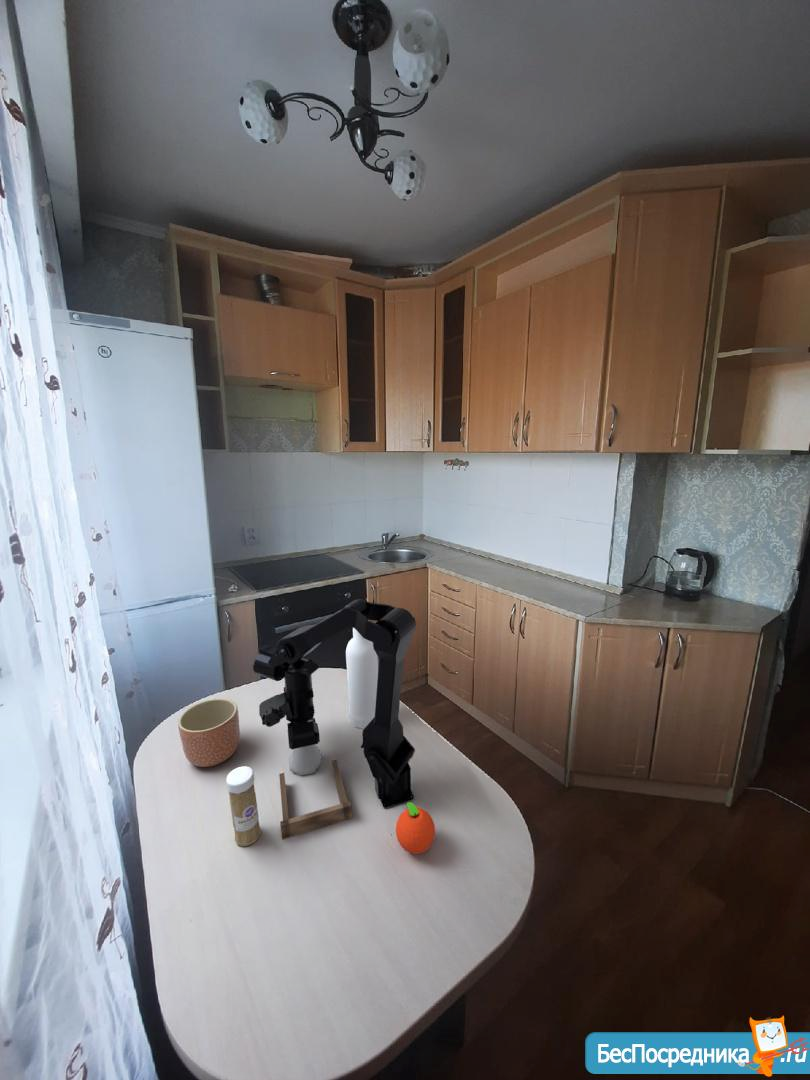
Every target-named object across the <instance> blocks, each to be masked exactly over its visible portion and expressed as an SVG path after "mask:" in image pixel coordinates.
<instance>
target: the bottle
mask: <svg viewBox="0 0 810 1080" xmlns="http://www.w3.org/2000/svg"><path fill="white" fill-rule="evenodd" d="M345 662H346V674H347V675H346V676H347V677H346V678H347V692H348V704H349V705H348V706H349V707H348V708H349V709H348V713H349V720H350V724H351V725H352V726H353V727H355V728H357V729H361V730H364V728H365V727H366V726H367V725H368V724H369V723H370V722H371V720H372V719H373V718H374V717H375V704H376V691H377V678H378V666H379V657H378V656H377V654H376V652H375V650H374V648H373V642H371V641H369V640H367V639H364V638H363V637H362V636H361V635H360V634H359V632H358V631H357V630H356V629H355V628H353V627H352V637H351V639H350V640H348V643H347V645H346V649H345Z"/></svg>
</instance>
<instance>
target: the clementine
mask: <svg viewBox="0 0 810 1080" xmlns="http://www.w3.org/2000/svg"><path fill="white" fill-rule="evenodd" d="M405 803H406V806H407V808H406V809H405V810H404V811H403V812H401V813H400V816H399V817H398V819H397V821H396V824H395V825H396V826H395V835H396V839H397V842H398V843H399V845H400V846H401V848H402V849H403V850H404V851H405V852H407V853H409V854H413V855H418V854H422V853H424V852H426V851H427V850H428V849H429V848H430V847H431V846H432V843H433V842H434V841H435V840H434V839H435V835H436V828H435V823H434V822H435V821H434V819H433V817H432V816H431V815H430V813H429V812H428V811H427V810H426V809H424V808H423V807H419V806H416V805H415V804H414V803H413V802H410V801H407V802H405Z"/></svg>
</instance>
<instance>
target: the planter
mask: <svg viewBox="0 0 810 1080" xmlns="http://www.w3.org/2000/svg"><path fill="white" fill-rule="evenodd" d="M177 723H178V724H177V726H178V733H179V737H180V741H181V745H182V750H183V753H184V756H185V758H186V759H187V761H188V762H189V763H190V764H191V765H194V766H196V767H200V768H207V767H214V766H218V765H219V764H222V763H224V762H225V761H226V760H228V759H229V758H231V756H232V755H234V753H235V752H236V750H237V749H238V747H239V745H240V740H241V731H240V719H239V710H238V706H237V703H236V702H235V701H234V700H232V699H229V698H226V697H223V698H222V697H216V698H210V699H206V700H202V701H200V702H197V703H196V704H194V705H191V706H190V707H188V708H187V709H186V710H184V712H182V714H181V715H180V716H179V718H178V722H177Z"/></svg>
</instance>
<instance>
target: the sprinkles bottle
mask: <svg viewBox="0 0 810 1080" xmlns="http://www.w3.org/2000/svg"><path fill="white" fill-rule="evenodd" d="M225 782H226V789H227V791H228V795H229V807H230V814H231V820H232V827H233V831H234V842H235V844H236V845H238V846H241V847H247V846H250V845H252V844H254V843H255V842H256V841H257V840H258V839H259V837H260V835H261V831H262V830H261V827H260V822H259V810H258V803H257V794H256V790H255V774H254V769H252V767H249V766H246V765H245V766H239V767H236V768H234V769H233V770H231V771H230V772H229V773H228V774H227V776H226V779H225Z"/></svg>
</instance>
